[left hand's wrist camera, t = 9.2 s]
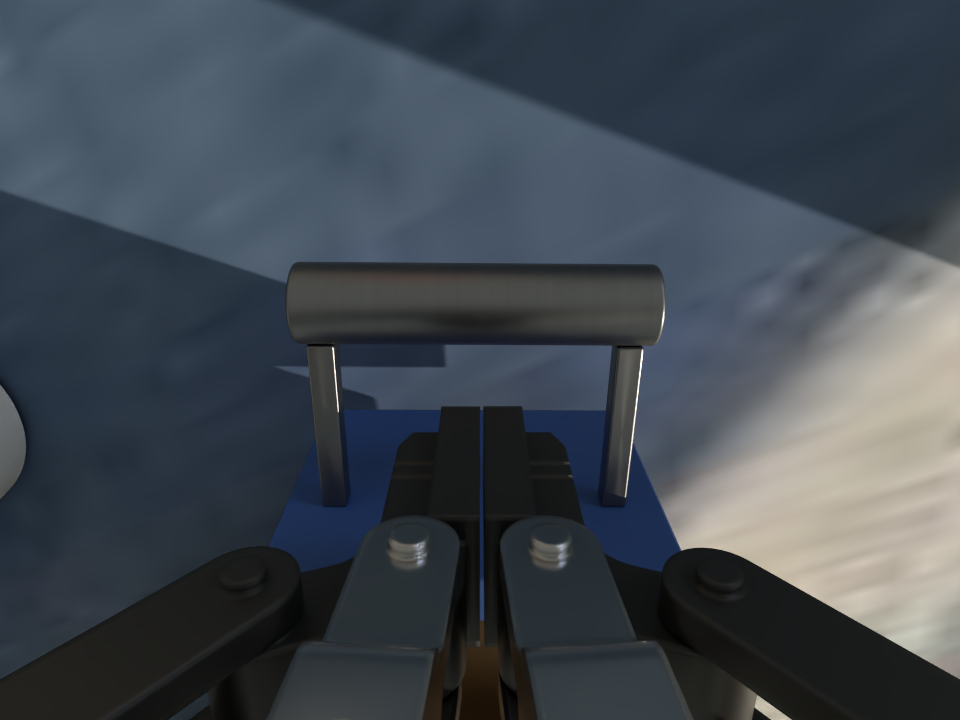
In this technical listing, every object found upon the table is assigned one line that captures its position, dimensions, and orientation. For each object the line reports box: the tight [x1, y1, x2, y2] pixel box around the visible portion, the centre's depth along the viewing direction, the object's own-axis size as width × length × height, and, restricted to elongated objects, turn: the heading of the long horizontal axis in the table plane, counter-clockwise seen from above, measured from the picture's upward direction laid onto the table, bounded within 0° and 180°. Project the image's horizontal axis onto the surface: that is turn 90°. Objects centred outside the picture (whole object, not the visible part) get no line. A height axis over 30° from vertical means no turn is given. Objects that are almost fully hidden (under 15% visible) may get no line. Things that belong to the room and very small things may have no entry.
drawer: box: [268, 262, 681, 720], centre depth 20 cm, size 25×9×8 cm, turn 179°
